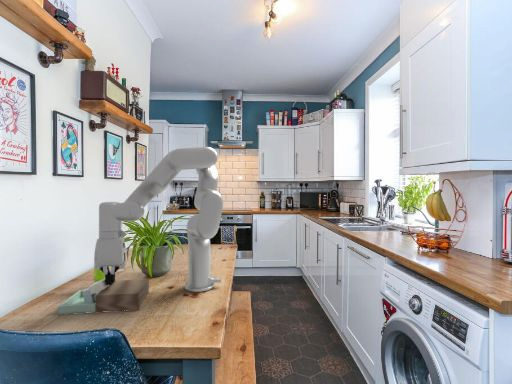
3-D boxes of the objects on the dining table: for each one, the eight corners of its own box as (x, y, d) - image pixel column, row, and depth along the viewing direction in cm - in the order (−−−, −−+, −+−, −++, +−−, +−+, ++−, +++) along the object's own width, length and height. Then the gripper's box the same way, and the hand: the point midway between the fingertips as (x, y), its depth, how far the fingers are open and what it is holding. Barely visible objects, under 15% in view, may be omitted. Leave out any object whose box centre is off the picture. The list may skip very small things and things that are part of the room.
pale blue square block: (96, 285, 108) (89, 286, 108) (90, 289, 103) (82, 291, 103) (99, 297, 108) (92, 299, 108) (93, 303, 103) (85, 304, 103)
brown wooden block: (148, 293, 116) (148, 279, 116) (138, 310, 100) (138, 293, 100) (112, 295, 114) (112, 280, 114) (96, 312, 98) (95, 295, 98)
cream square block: (110, 284, 108) (107, 277, 108) (104, 289, 103) (101, 282, 103) (97, 289, 108) (94, 282, 108) (91, 294, 103) (88, 287, 103)
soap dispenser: (114, 286, 125) (114, 240, 125) (102, 291, 118) (102, 243, 118) (103, 285, 127) (103, 240, 127) (91, 290, 120) (90, 243, 120)
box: (111, 295, 114) (111, 288, 114) (95, 312, 98) (95, 304, 98) (79, 297, 112) (79, 289, 112) (58, 315, 96) (57, 306, 96)
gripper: (134, 233, 111) (134, 280, 111) (92, 233, 108) (92, 281, 109) (128, 236, 103) (128, 286, 103) (84, 237, 101) (84, 288, 101)
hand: (110, 284), depth 106 cm, fingers closed
